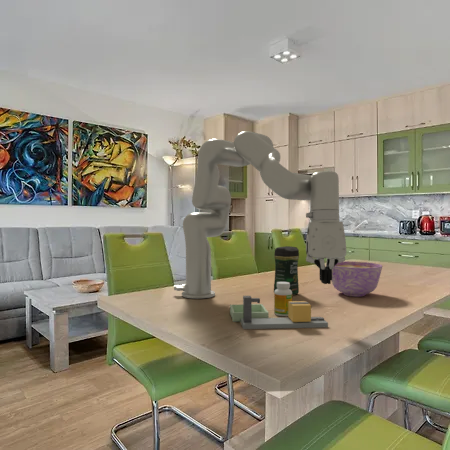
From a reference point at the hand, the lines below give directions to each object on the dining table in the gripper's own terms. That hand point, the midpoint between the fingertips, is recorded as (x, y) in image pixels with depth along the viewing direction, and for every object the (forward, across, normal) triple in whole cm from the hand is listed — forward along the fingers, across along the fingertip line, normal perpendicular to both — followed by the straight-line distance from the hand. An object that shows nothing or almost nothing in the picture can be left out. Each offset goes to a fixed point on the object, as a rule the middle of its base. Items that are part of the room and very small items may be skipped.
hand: (325, 283), depth 101 cm
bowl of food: (+11, +24, +38) cm, 47 cm away
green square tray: (+11, -20, +10) cm, 25 cm away
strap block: (+10, -7, 0) cm, 12 cm away
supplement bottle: (+11, -10, +12) cm, 19 cm away
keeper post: (+11, -21, 0) cm, 24 cm away
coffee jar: (+11, -2, +40) cm, 42 cm away
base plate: (+11, -12, 0) cm, 16 cm away
